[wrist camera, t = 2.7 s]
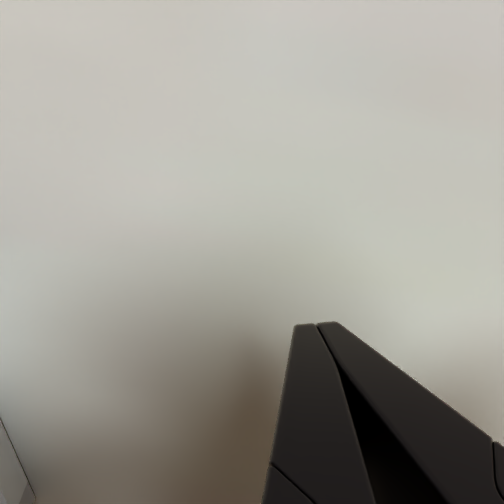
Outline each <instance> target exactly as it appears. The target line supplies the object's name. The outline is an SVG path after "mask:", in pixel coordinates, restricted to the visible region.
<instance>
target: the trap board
mask: <svg viewBox="0 0 504 504" xmlns="http://www.w3.org/2000/svg"><path fill="white" fill-rule="evenodd" d="M34 501H35V496H34V494H33V491H32V489H31V487H30V485H29V482H28V480H27V478H26V476H25V474H24V471H23V469H22V467H21V465H20V462H19V460H18V458H17V456H16V454H15V451H14V449H13V447H12V445H11V442H10V440H9V438H8V436H7V434H6V431H5V429H4V427H3V425H2V422H1V420H0V504H33V503H34Z"/></svg>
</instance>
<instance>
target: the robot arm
mask: <svg viewBox="0 0 504 504" xmlns="http://www.w3.org/2000/svg"><path fill="white" fill-rule="evenodd" d="M261 504H504V446H502V445H501V444H500V443H498V442H497V441H494V442H493V441H492V438H491V437H490V436H489V435H487V434H486V433H485V432H483V431H482V430H481V429H479V428H478V427H477V426H475V425H474V424H473V423H471V422H470V421H469V420H467V419H466V418H465V417H463V416H462V415H461V414H459V413H458V412H457V411H455V410H454V409H453V408H451V407H450V406H449V405H447V404H446V403H445V402H443V401H442V400H441V399H439V398H438V397H437V396H435V395H434V394H433V393H431V392H430V391H429V390H427V389H426V388H425V387H423V386H422V385H421V384H419V383H418V382H417V381H415V380H414V379H413V378H411V377H410V376H409V375H407V374H406V373H405V372H403V371H402V370H401V369H399V368H398V367H397V366H395V365H394V364H393V363H391V362H390V361H389V360H387V359H386V358H385V357H383V356H382V355H381V354H379V353H378V352H377V351H375V350H374V349H373V348H371V347H370V346H369V345H367V344H366V343H365V342H363V341H362V340H361V339H359V338H358V337H357V336H355V335H354V334H353V333H351V332H350V331H349V330H347V329H346V328H345V327H343V326H342V325H341V324H339V323H338V322H322V323H318V324H316V325H315V324H312V323H310V324H298V325H295V326H294V329H293V335H292V340H291V346H290V351H289V357H288V362H287V368H286V373H285V379H284V384H283V390H282V395H281V401H280V406H279V412H278V417H277V422H276V428H275V433H274V439H273V444H272V450H271V455H270V461H269V468H268V470H267V476H266V481H265V487H264V492H263V497H262V501H261Z"/></svg>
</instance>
